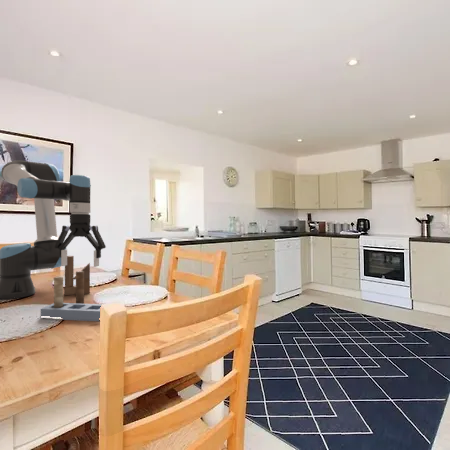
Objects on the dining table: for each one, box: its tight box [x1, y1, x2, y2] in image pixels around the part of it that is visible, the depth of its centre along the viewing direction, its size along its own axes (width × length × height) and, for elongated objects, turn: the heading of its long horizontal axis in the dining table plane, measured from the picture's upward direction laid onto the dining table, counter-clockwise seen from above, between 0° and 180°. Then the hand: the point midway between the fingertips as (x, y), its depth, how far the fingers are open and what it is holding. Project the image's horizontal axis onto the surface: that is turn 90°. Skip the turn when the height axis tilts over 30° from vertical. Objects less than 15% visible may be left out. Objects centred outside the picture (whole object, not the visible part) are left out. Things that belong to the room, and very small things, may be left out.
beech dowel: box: [53, 276, 64, 308], centre depth 107 cm, size 3×3×14 cm
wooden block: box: [63, 255, 91, 296], centre depth 138 cm, size 4×11×18 cm, turn 115°
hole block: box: [40, 302, 103, 322], centre depth 107 cm, size 22×8×4 cm, turn 86°
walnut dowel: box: [75, 270, 85, 304], centre depth 119 cm, size 3×3×14 cm
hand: (80, 266), depth 119 cm, fingers open, 13 cm apart
